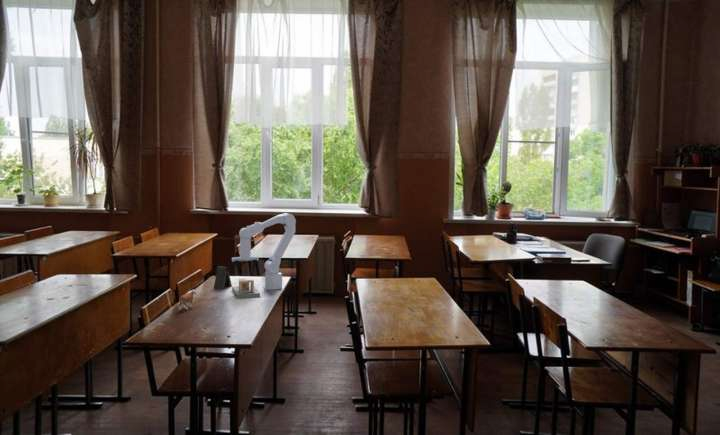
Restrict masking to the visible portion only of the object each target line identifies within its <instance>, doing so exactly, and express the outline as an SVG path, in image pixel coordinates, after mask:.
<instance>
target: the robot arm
mask: <svg viewBox="0 0 720 435" xmlns="http://www.w3.org/2000/svg"><path fill="white" fill-rule="evenodd" d="M296 223H297V220H296V218H295V216H294V215H293V214H292V213H288V212H283V213H281V214H277V215H275V216H273V217H271V218H269V219H267V220H265V221H263V222H260V221H255V222H254V223H253V224H251V225H246V227H242V228H240V230H239V231H238V235H239V236H240V240H239V256H237V257H236V256H235V257H231V262H233V263H234V266H235V268H236V272H237V273H236V274H237V275H240V262H247V261H249V262H250V263H251V267H250V268H251V269H250V273H251V274H254V270H255V267H256V265H257V263H258V261H259V258H260V256H251V254H252V253H251V249H252V248H251V244H252V243H251V238H252V237H253V236H255V235H257V234H260V233H262V232H264V230H265V228H268V227H271V226H273V225H276V224H282V225H283V227H284V230H285V231H284V233H283V235H282V236H281V238H280V241H279V243H278V245H276V248H275V250H274V252H273V253H272V255H271V256H270V257H269V259H268V260H266V261H265V262H264V265H263V266H264V270H265V271H264V277H265V278H264V285H263V288H264V289H265V290H267V291H268V290H269V291H270V290H272V291H273V290H282V289H283V273H282V272H279V270H280V266H281V261H282V260H281V259H282V257H283V256H284V254H285V252H286V250H287V248H288V247H289V245H290V244H291V241H292V239H293V237H294V236H295V234H296Z"/></svg>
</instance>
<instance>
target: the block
mask: <svg viewBox="0 0 720 435" xmlns="http://www.w3.org/2000/svg"><path fill="white" fill-rule="evenodd" d="M239 280H248V279H247V278H246V277H245V278H238V281H239ZM249 286H250V283H242V290H245V289H249Z"/></svg>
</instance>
